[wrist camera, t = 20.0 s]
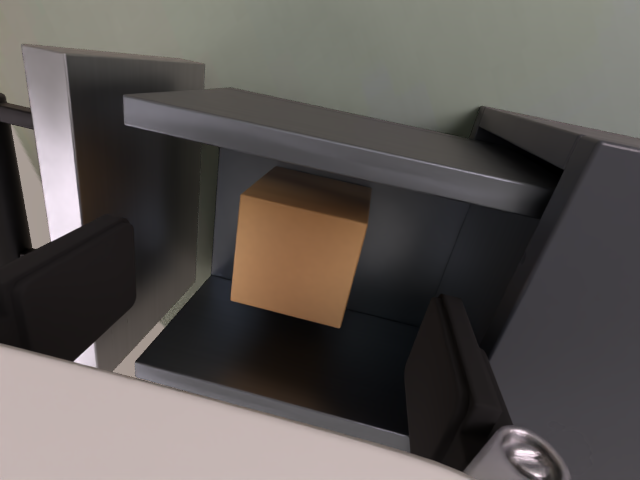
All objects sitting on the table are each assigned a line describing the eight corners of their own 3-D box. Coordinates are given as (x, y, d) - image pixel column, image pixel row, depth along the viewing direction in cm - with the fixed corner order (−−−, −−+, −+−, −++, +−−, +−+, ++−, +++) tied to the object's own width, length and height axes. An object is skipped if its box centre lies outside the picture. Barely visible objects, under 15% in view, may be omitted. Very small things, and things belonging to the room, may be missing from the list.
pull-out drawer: (82, 253, 21) (-68, 339, 14) (57, 32, 16) (-188, -2, 9) (426, 340, 20) (449, 484, 13) (511, 128, 15) (623, 173, 8)
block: (263, 252, 18) (229, 301, 14) (275, 165, 16) (239, 194, 12) (350, 273, 18) (340, 329, 14) (372, 187, 16) (368, 224, 12)
